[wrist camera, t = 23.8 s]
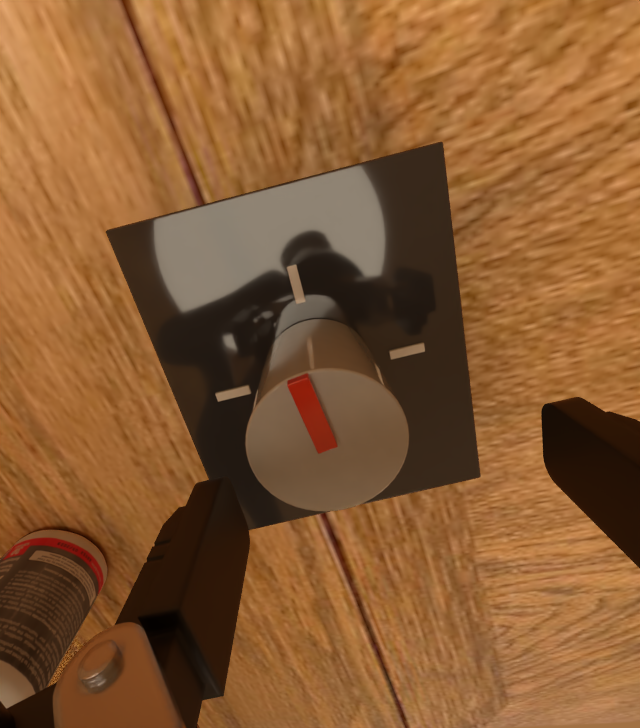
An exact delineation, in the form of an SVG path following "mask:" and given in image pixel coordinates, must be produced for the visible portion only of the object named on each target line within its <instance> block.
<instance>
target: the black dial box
mask: <svg viewBox="0 0 640 728" xmlns="http://www.w3.org/2000/svg"><path fill="white" fill-rule="evenodd" d="M106 233H107V236H108V238H109V241H110V243H111V245H112V248H113V250H114V253H115V255H116V257H117V260H118V262H119V265H120V267H121V269H122V272H123V274H124V277H125V279H126V281H127V284H128V286H129V289H130V291H131V293H132V296H133V298H134V301H135V303H136V305H137V308H138V310H139V313H140V315H141V317H142V320H143V322H144V325H145V327H146V329H147V332H148V334H149V337H150V339H151V341H152V344H153V346H154V349H155V351H156V353H157V356H158V358H159V361H160V363H161V365H162V368H163V370H164V373H165V375H166V377H167V380H168V382H169V385H170V387H171V389H172V392H173V394H174V397H175V399H176V401H177V404H178V406H179V409H180V411H181V413H182V416H183V418H184V420H185V423H186V425H187V428H188V430H189V432H190V435H191V437H192V440H193V442H194V444H195V447H196V449H197V452H198V454H199V456H200V459H201V461H202V464H203V466H204V468H205V471H206V473H207V476H208V478H209V480H212V479H216V478H220V477H225V476H226V477H228V478H229V479H230V481H231V483H232V486H233V488H234V491H235V493H236V496H237V499H238V501H239V504H240V506H241V509H242V512H243V514H244V517H245V520H246V522H247V526H248V530H251V529H256V528H260V527H264V526H269V525H273V524H278V523H282V522H286V521H291V520H295V519H300V518H304V517H308V516H313V515H317V514H321V513H326V512H330V511H312V510H306V509H302V508H298V507H295V506H292V505H290V504H287V503H285V502H284V501H282V500H280V499H278V498H277V497H275V496H274V495H272V494H271V493H270V492H269V491H268V490H267V489H266V488H264V486H263V485H262V484H261V483H260V482H259V481H258V479H257V478H256V476H255V474H254V473H253V471H252V469H251V467H250V464H249V462H248V458H247V454H246V447H245V435H246V429H247V424H248V421H249V417H250V414H251V410H252V407H253V403H254V399H255V396H256V392H257V389H258V385H259V381H260V378H261V374H262V371H263V367H264V364H265V360H266V357H267V354H268V351H269V349H270V347H271V346H272V344H273V343H274V341H275V340H276V339H277V338H278V337H279V335H280V334H282V333H283V332H284V331H285V330H287V329H288V328H290V327H291V326H293V325H295V324H298V323H300V322H303V321H307V320H312V319H327V320H333V321H337V322H340V323H342V324H344V325H346V326H348V327H350V328H351V329H353V330H354V331H356V332H357V333H358V334H359V335H360V336H361V337H362V339H363V340H364V341H365V342H366V344H367V346H368V347H369V349H370V351H371V353H372V355H373V356H374V358H375V360H376V362H377V364H378V365H379V367H380V369H381V371H382V373H383V374H384V376H385V378H386V380H387V382H388V383H389V385H390V387H391V389H392V390H393V392H394V394H395V396H396V398H397V399H398V401H399V403H400V405H401V407H402V409H403V411H404V413H405V416H406V419H407V423H408V428H409V446H408V451H407V455H406V458H405V461H404V464H403V465H402V467H401V469H400V471H399V473H398V474H397V476H396V477H395V479H394V480H393V481H392V482H391V483H390V484H389V486H388V487H386V488H385V489H384V490H383V491H382V492H381V493H379V494H378V495H376V496H375V497H374V498H372V499H370V500H368V501H366V502H365V503H370V502H374V501H379V500H383V499H387V498H392V497H396V496H401V495H405V494H409V493H414V492H418V491H422V490H427V489H431V488H436V487H440V486H444V485H449V484H453V483H458V482H462V481H466V480H471V479H475V478H479V477H480V468H479V459H478V450H477V441H476V432H475V423H474V414H473V406H472V397H471V388H470V379H469V370H468V361H467V352H466V344H465V335H464V326H463V317H462V308H461V299H460V290H459V281H458V273H457V264H456V255H455V246H454V237H453V228H452V219H451V210H450V202H449V193H448V184H447V175H446V166H445V157H444V148H443V143H442V142H438V143H434V144H430V145H426V146H423V147H419V148H415V149H411V150H408V151H404V152H400V153H396V154H392V155H389V156H385V157H381V158H377V159H374V160H370V161H366V162H362V163H358V164H355V165H351V166H347V167H343V168H340V169H336V170H332V171H328V172H324V173H321V174H317V175H313V176H309V177H306V178H302V179H298V180H294V181H290V182H287V183H283V184H279V185H275V186H272V187H268V188H264V189H260V190H256V191H253V192H249V193H245V194H241V195H238V196H234V197H230V198H226V199H222V200H219V201H215V202H211V203H207V204H204V205H200V206H196V207H192V208H188V209H185V210H181V211H177V212H173V213H170V214H166V215H162V216H158V217H154V218H151V219H147V220H143V221H139V222H136V223H132V224H128V225H124V226H120V227H117V228H113V229H109V230H107V231H106ZM365 503H362V504H365ZM360 505H361V504H360Z"/></svg>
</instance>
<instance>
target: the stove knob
mask: <svg viewBox="0 0 640 728" xmlns="http://www.w3.org/2000/svg"><path fill="white" fill-rule="evenodd" d="M408 446H409V428H408V423H407V419H406V416H405V413H404V411H403V409H402V407H401V405H400V403H399V401H398V399H397V398H396V396H395V394H394V392H393V390H392V389H391V387H390V385H389V383H388V382H387V380H386V378H385V376H384V374H383V373H382V371H381V369H380V367H379V365H378V364H377V362H376V360H375V358H374V356H373V355H372V353H371V351H370V349H369V347H368V346H367V344H366V342H365V341H364V340H363V339H362V337H361V336H360V335H359V334H358V333H357V332H356V331H354V330H353V329H351V328H350V327H348V326H346V325H344V324H342V323H340V322H337V321H333V320H327V319H312V320H307V321H303V322H300V323H298V324H295V325H293V326H291V327H290V328H288V329H287V330H285V331H284V332H283V333H282V334H280V335H279V337H278V338H277V339H276V340H275V341H274V343H273V344H272V346H271V347H270V349H269V351H268V354H267V357H266V360H265V364H264V367H263V371H262V374H261V378H260V381H259V385H258V389H257V392H256V396H255V399H254V403H253V407H252V410H251V414H250V417H249V421H248V424H247V429H246V435H245V447H246V454H247V458H248V462H249V464H250V467H251V469H252V471H253V473H254V474H255V476H256V478H257V479H258V481H259V482H260V483H261V484H262V485H263V486H264V488H266V489H267V490H268V491H269V492H270V493H271V494H272V495H274V496H275V497H277V498H278V499H280V500H282V501H284V502H285V503H287V504H290V505H292V506H295V507H298V508H302V509H306V510H312V511H338V510H343V509H348V508H351V507H355V506H357V505H360V504H362V503H365V502H366V501H368V500H370V499H372V498H374V497H375V496H376V495H378V494H379V493H381V492H382V491H383V490H384V489H385V488H386V487H388V486H389V484H390V483H391V482H392V481H393V480H394V479H395V477H396V476H397V474H398V473H399V471H400V469H401V467H402V465H403V464H404V461H405V458H406V455H407V451H408Z"/></svg>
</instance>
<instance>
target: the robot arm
mask: <svg viewBox="0 0 640 728" xmlns="http://www.w3.org/2000/svg"><path fill="white" fill-rule="evenodd" d="M542 437H543V457H544V463H545V466H546V469H547V471H548V473H549V475H550V477H551V478H552V480H553V481H554V482H555V484H556V485H557V486H558V487H559V488H560V489H561V490H562V491H563V492H564V493H565V494H566V495H567V496H568V497H569V498H570V499H571V500H572V501H573V502H574V503H575V504H576V505H577V506H578V507H579V508H580V509H581V510H582V511H583V512H584V513H585V514H586V515H587V516H588V517H589V518H590V519H591V520H592V521H593V522H594V523H595V524H596V525H597V526H598V527H599V528H600V529H601V530H602V531H603V532H604V533H605V534H606V535H607V536H608V537H609V538H610V539H611V540H612V541H613V542H614V543H615V544H616V545H617V546H618V547H619V548H620V549H621V550H622V551H623V552H624V553H625V554H626V555H627V556H628V557H629V558H630V559H631V560H632V561H633V562H634V563H635V564H636V565H637V566H638V567H639V568H640V422H639V421H637V420H635V419H632V418H629V417H625V416H622V415H619V414H616V413H612V412H605V411H603V410H601V409H600V408H598V407H596V406H595V405H593V404H591V403H590V402H588V401H586V400H585V399H583V398H580V397H574V398H570V399H566V400H561V401H557V402H553V403H548V404H545V405H544V406H543V408H542ZM154 544H155V546H154V547H152V549H151V551H150V553H149V555H148V557H147V562H146V563H144V566H143V568H142V570H141V572H140V574H139V576H138V578H137V580H136V582H135V584H134V586H133V588H132V590H131V592H130V594H129V596H128V599H127V601H126V603H125V605H124V607H123V609H122V611H121V613H120V615H119V617H118V619H117V621H116V623H115V625H114V626H112V627H109V628H107V629H106V630H104V631H102V632H100V633H99V634H97V635H96V636H95V637H93V638H92V639H91V640H89V641H88V642H87V643H86V644H85V645H84V646H83V647H82V648H81V649H80V650H79V651H78V652H77V653H76V654H75V655H74V656H73V657H72V659H71V660H70V661H69V663H68V664H67V665H66V667H65V669H64V670H63V672H62V673H61V675H60V677H59V679H58V681H57V683H55V684H53V685H51V686H49V687H47V688H45V689H43V690H41V691H39V692H38V693H36V694H34V695H32V696H30V697H28V698H26V699H24V700H22V701H20V702H18V703H16V704H14V705H13V706H11V707H9V708H7V709H6V707H5V706H4V705H3V704H2V703H1V701H0V728H200V727H199V726H198V724H197V722H198V718H199V713H200V709H201V704H202V700H206V699H211V698H216V697H220V696H224V690H225V684H226V679H227V673H228V667H229V662H230V656H231V650H232V645H233V639H234V633H235V627H236V622H237V616H238V610H239V605H240V599H241V593H242V588H243V582H244V576H245V571H246V565H247V559H248V554H249V547H250V538H249V530H248V526H247V522H246V520H245V517H244V514H243V512H242V509H241V506H240V504H239V501H238V499H237V496H236V493H235V491H234V488H233V486H232V483H231V481H230V479H229V478H228V477H226V476H225V477H220V478H216V479H212V480H207V481H203V482H198V483H196V485H195V486H194V488H193V491H192V493H191V495H190V497H189V500H188V502H187V504H186V506H184V507H180V508H178V509H177V510H176V511H175V512H174V513H173V515H172V516H171V517H170V518H169V519H168V520H167V521H166V522H165V523H164V525H163V526H162V528H161V530H160V533H159V535H158V537H157V539H156V541H155V543H154Z"/></svg>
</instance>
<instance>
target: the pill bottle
mask: <svg viewBox="0 0 640 728" xmlns="http://www.w3.org/2000/svg"><path fill="white" fill-rule="evenodd" d="M107 571H108V568H107V565H106V561H105V558H104V557H103V554H102V553H101V551H100V550H99V549H98V548H97V547H96V546H95V545H94V544H93V543H92V542H90V541H89V540H87V539H86V538H85V537H83V536H80V535H78V534H75V533H71V532H67V531H62V530H42V531H37V532H33V533H31V534H28V535H26V536H25V537H23V538H21V539H20V540H19V541H18V542H16V543H15V544H14V545H13V546H12V547H11V549H10V550H9V551H8V552H7V553H6V554H5V555H4V556H3V557H2V558H1V559H0V701H1V703H2V704H3V705H4V706H5V707H6V709H7V708H9V707H11V706H13V705H14V704H16V703H18V702H20V701H22V700H24V699H26V698H28V697H30V696H32V695H34V694H36V693H38V692H39V691H41V690H43V689H45V688H47V686H48V684H49V683H50V681H51V679H52V677H53V675H54V673H55V672H56V670H57V668H58V666H59V664H60V662H61V661H62V659H63V657H64V655H65V654H66V652H67V650H68V648H69V647H70V645H71V643H72V641H73V640H74V638H75V636H76V634H77V633H78V631H79V629H80V627H81V625H82V624H83V622H84V620H85V618H86V616H87V614H88V613H89V611H90V609H91V607H92V605H93V604H94V602H95V600H96V598H97V596H98V594H99V592H100V591H101V589H102V587H103V585H104V583H105V581H106V578H107Z"/></svg>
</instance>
